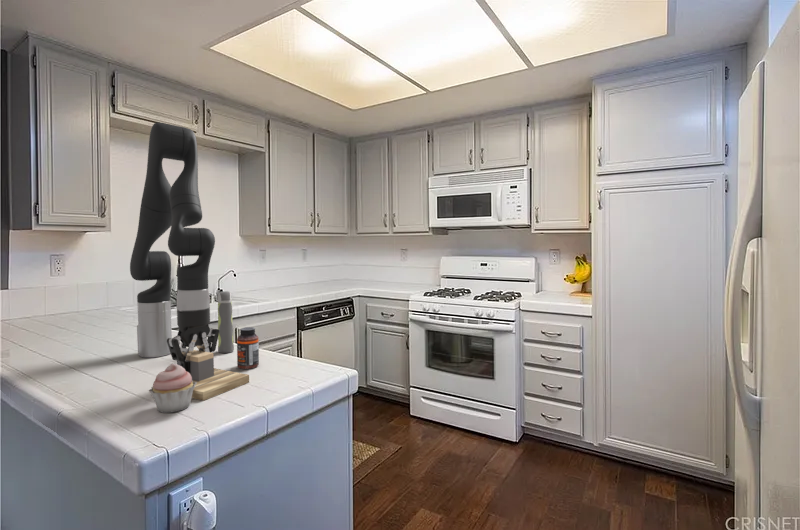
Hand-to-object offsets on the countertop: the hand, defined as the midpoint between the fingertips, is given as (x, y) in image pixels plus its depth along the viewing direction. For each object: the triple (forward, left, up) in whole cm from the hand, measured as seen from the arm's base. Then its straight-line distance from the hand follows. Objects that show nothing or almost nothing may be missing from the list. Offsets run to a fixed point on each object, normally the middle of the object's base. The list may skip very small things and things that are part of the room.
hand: (195, 372), depth 109 cm
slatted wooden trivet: (+4, 0, -3) cm, 5 cm away
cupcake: (+9, -13, -3) cm, 16 cm away
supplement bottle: (+1, +17, -3) cm, 17 cm away
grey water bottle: (-18, +26, -3) cm, 32 cm away
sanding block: (0, 0, -1) cm, 1 cm away
